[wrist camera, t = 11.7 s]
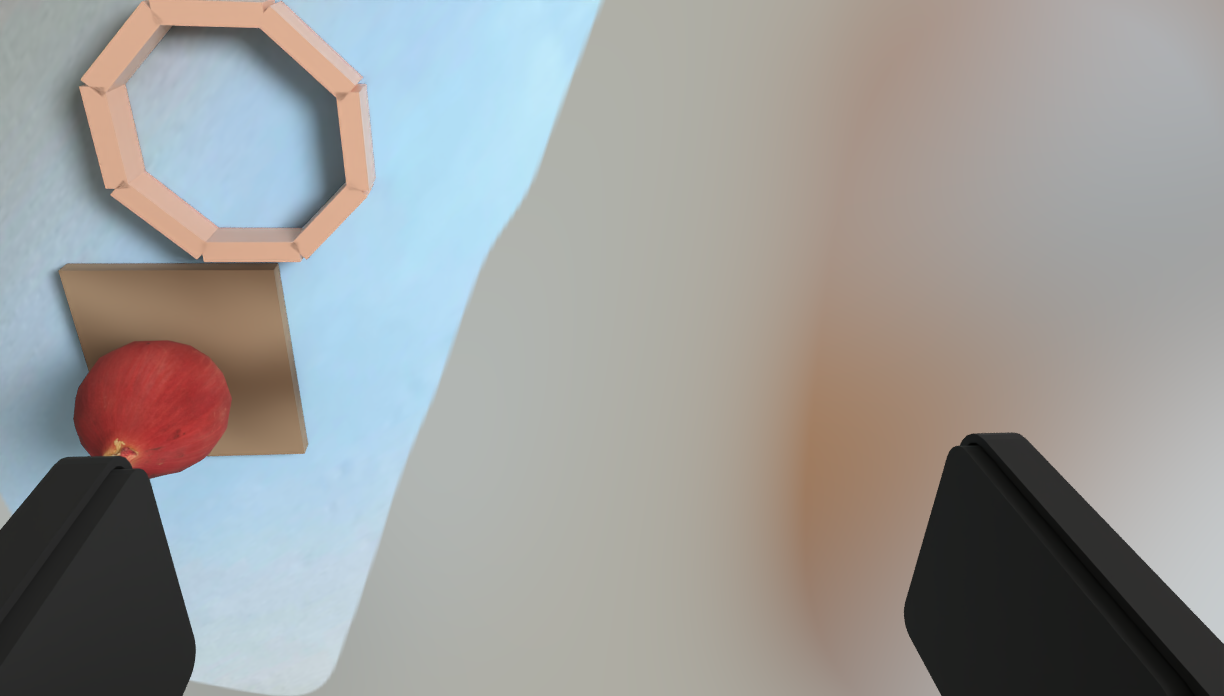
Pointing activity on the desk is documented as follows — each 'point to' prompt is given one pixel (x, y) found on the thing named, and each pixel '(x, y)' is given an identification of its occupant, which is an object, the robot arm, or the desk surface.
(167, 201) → the ring holder
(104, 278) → the board
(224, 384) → the onion
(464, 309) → the desk surface
